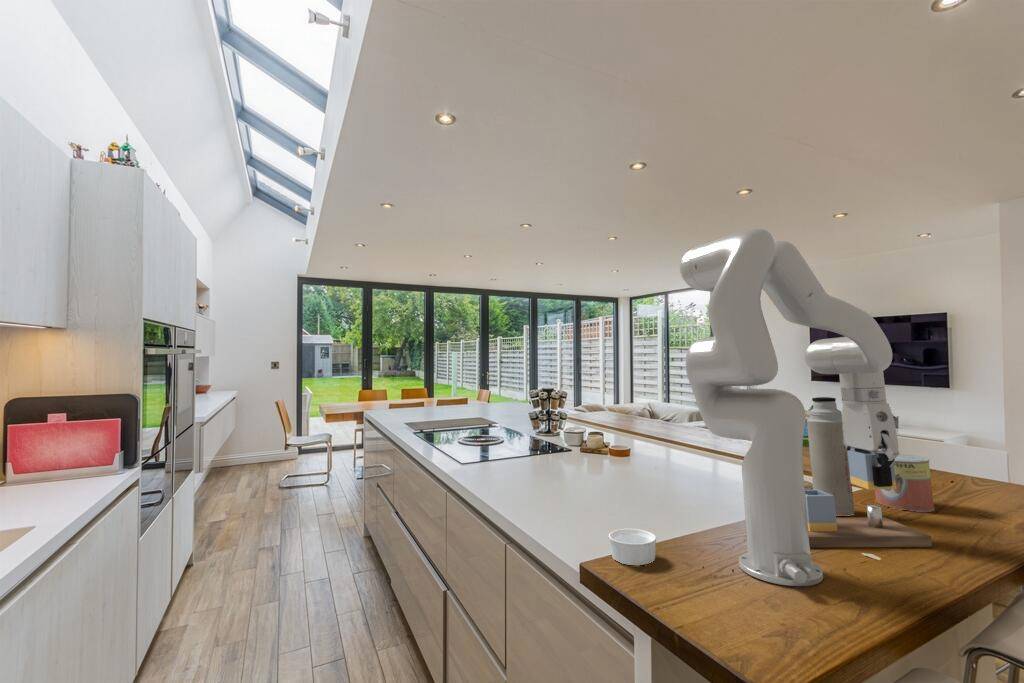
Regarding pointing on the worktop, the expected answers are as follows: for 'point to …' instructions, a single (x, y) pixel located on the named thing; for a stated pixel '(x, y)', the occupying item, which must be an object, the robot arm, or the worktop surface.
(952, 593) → the worktop surface
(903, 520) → the worktop surface
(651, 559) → the ramekin
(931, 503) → the canned food
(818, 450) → the thermos bottle
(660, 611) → the worktop surface
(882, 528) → the pin board
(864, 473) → the slate sleeve
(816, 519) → the seated sleeve
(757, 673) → the worktop surface
